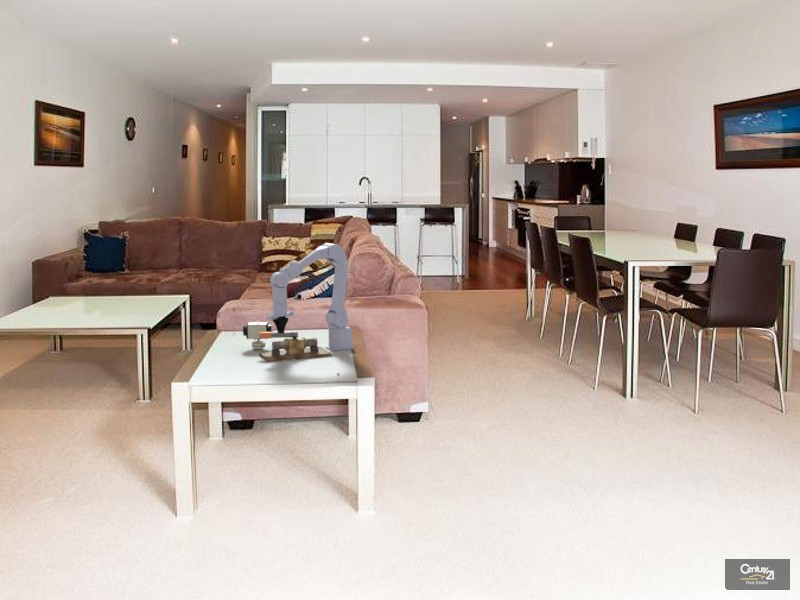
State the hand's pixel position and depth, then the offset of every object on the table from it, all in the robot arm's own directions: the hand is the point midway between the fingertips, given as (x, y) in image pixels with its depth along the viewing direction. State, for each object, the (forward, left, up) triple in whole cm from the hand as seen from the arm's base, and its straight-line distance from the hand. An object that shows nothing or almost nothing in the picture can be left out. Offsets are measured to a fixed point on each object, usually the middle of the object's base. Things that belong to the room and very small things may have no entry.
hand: (280, 335), depth 323 cm
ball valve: (-5, +4, -8) cm, 10 cm away
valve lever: (+1, +1, 0) cm, 2 cm away
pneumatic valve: (+5, -16, -8) cm, 19 cm away
